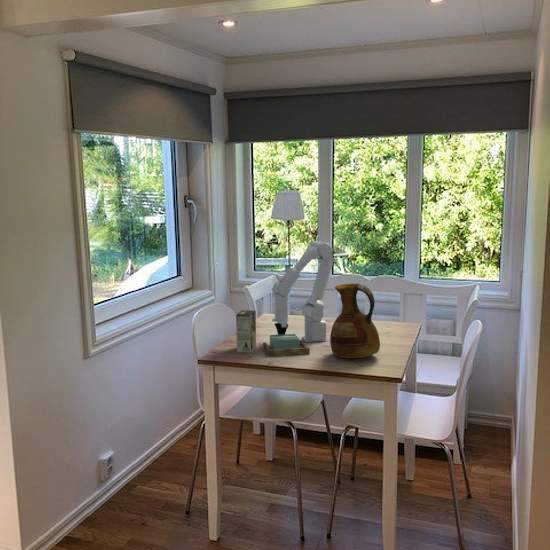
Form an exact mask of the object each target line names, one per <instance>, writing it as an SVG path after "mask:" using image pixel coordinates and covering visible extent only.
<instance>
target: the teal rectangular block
mask: <svg viewBox="0 0 550 550" xmlns="http://www.w3.org/2000/svg"><path fill="white" fill-rule="evenodd" d="M269 347H270V348H271V349H288V348H300V339H299V336H298V335H297V334H296V333H285V334H280V335H278V334H269Z"/></svg>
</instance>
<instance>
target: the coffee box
mask: <svg viewBox="0 0 550 550" xmlns="http://www.w3.org/2000/svg"><path fill="white" fill-rule="evenodd" d="M256 319H257V313H256V310H247V309H246V310H240V311H239V312H238V313H237V314H236V315H235V321H236V326H235V327H236V352H237V353H250V354H251V353H252V352H253V351H254V350H255V349H256V348H257V327H256V326H257V320H256Z"/></svg>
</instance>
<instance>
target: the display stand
mask: <svg viewBox="0 0 550 550" xmlns="http://www.w3.org/2000/svg"><path fill="white" fill-rule="evenodd" d="M269 347H270V346H268V344H267V342H262V348H263V350H264V352H265V353H266V355H267V357H279V356H280V357H281V356H283V357H284V356H298V355H300V356H301V355H310V354H311V353H310V352H311V351H310V350H311V348H310V347H308V345H307V344H306V343H305V342H304V339H303V340H302V339H301V340H300V339H299V348H288V349H272V348H271V349H270V348H269Z"/></svg>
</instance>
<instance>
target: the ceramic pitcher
mask: <svg viewBox="0 0 550 550" xmlns="http://www.w3.org/2000/svg"><path fill="white" fill-rule="evenodd" d="M334 289H335V291H337V293H339V295H340V300H341V305H342V306H341V307H342V308H341V313H340V314H339V315H338V316H337V317H336V319H335V320H334V322H333V324H332V327H331V330H330V337H329V338H330V339H329V340H330V341H329V342H330V349H331V352H332V354H333V355H335V356H336V357H339V358H346V359H357V358H365V357H366V358H367V357H369V356H374V355H375V354H377V353H379V351H380V349H381V348H380V347H381V341H380V340H381V339H380V335H379V332H378V329H377V327H376V325H375V324H374V322H373V320H372V317H373V312H374V309H375V303H376V301H375V297H374V295H373V292H372V290H371V289H370V288H368V287H367V286H366V285H362V284H361V283H345V284H343V283H342V284H338V285H335V286H334ZM359 291H360V292H362V293H364V294H365V295H366V297H367V298H368V301H369V310H368V312H367V314H365V313H363V312H362V310H360V309H359V306H358V301H357V300H358V299H357V295H358V292H359Z"/></svg>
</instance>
